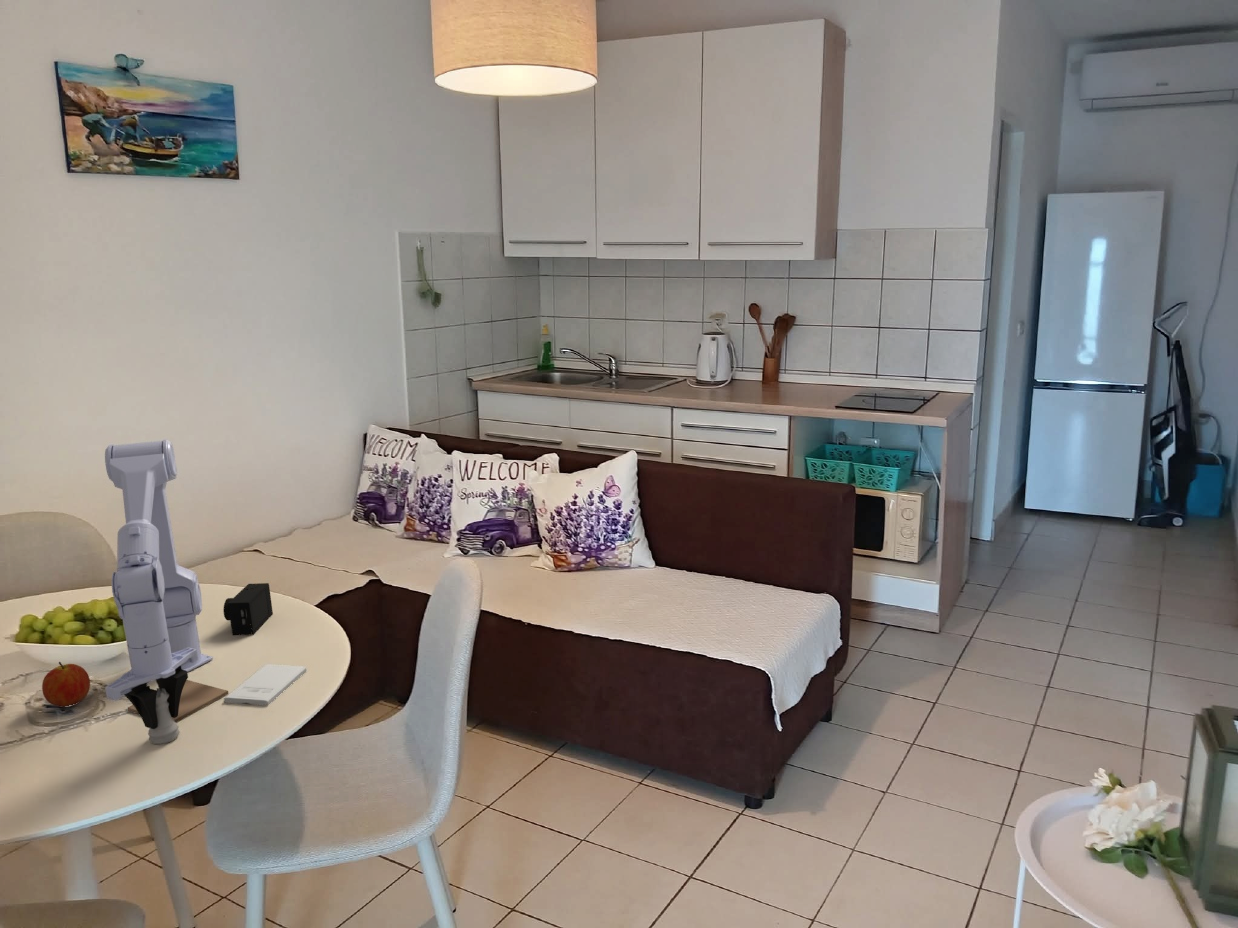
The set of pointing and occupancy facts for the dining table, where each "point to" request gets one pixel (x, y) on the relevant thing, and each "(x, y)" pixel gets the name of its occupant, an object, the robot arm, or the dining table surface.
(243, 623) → the digital camera
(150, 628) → the robot arm
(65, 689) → the fruit
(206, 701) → the walnut coaster
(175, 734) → the rook chess piece
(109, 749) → the dining table surface
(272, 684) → the external hard drive
